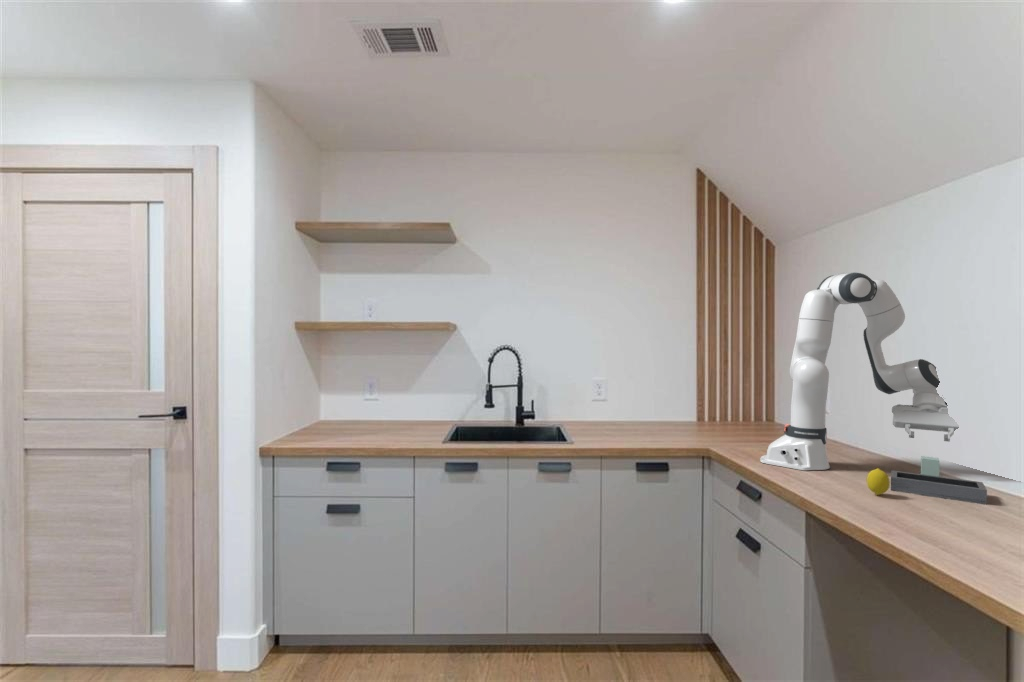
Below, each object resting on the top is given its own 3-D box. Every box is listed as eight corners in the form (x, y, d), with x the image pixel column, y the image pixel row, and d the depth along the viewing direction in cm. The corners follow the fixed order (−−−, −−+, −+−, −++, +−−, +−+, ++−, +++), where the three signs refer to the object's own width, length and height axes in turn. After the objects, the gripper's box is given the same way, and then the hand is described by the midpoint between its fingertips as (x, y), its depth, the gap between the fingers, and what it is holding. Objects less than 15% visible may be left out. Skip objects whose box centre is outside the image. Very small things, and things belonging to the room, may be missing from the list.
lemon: (867, 491, 161) (868, 465, 161) (889, 495, 157) (890, 468, 157) (865, 495, 156) (865, 468, 156) (888, 499, 153) (888, 471, 153)
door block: (921, 483, 170) (921, 458, 170) (920, 480, 174) (921, 456, 174) (939, 485, 168) (939, 460, 168) (938, 482, 171) (938, 458, 171)
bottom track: (890, 490, 162) (890, 477, 162) (891, 482, 170) (891, 470, 170) (986, 504, 149) (987, 490, 149) (982, 495, 157) (982, 482, 157)
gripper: (892, 398, 191) (891, 429, 183) (966, 403, 179) (969, 436, 171) (891, 409, 195) (891, 440, 187) (964, 415, 183) (967, 448, 175)
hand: (929, 438), depth 179 cm, fingers open, 8 cm apart
